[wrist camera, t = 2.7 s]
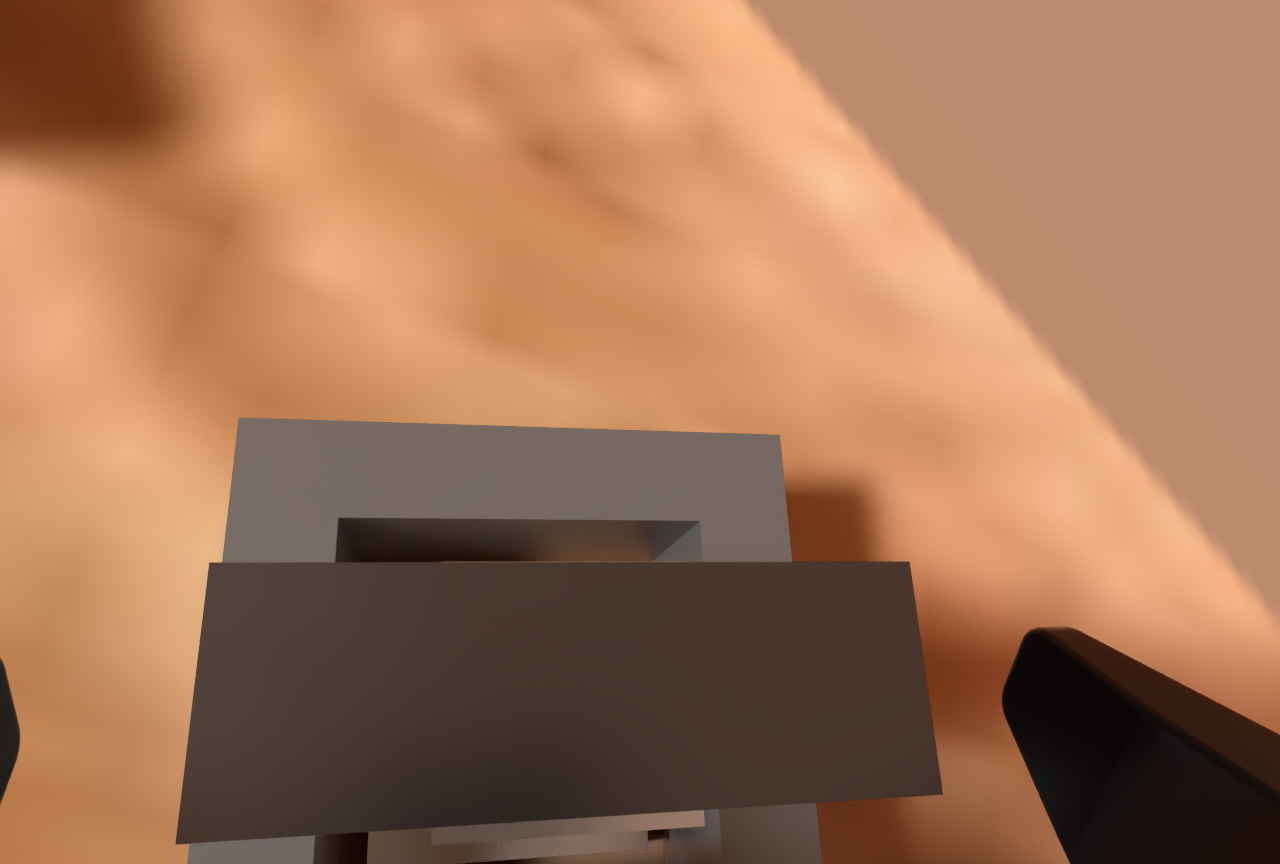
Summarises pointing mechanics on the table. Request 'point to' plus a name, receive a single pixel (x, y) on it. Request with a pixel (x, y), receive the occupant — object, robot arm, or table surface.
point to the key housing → (514, 542)
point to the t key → (546, 701)
